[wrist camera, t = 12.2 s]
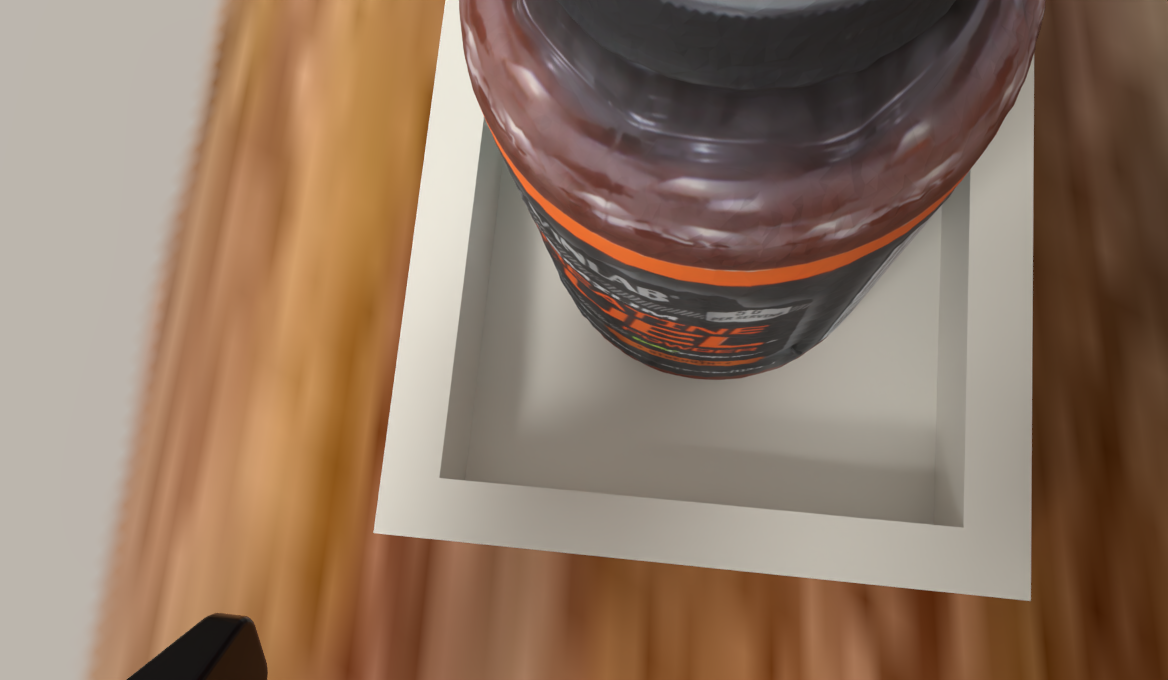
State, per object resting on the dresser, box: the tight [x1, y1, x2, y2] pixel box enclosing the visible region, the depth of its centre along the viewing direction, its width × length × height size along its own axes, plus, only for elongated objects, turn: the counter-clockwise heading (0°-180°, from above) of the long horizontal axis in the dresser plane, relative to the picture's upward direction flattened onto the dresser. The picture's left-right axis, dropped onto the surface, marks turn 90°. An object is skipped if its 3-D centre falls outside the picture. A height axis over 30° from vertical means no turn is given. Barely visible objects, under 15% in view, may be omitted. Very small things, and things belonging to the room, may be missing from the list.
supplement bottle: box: [459, 0, 1045, 380], centre depth 12 cm, size 6×6×11 cm
